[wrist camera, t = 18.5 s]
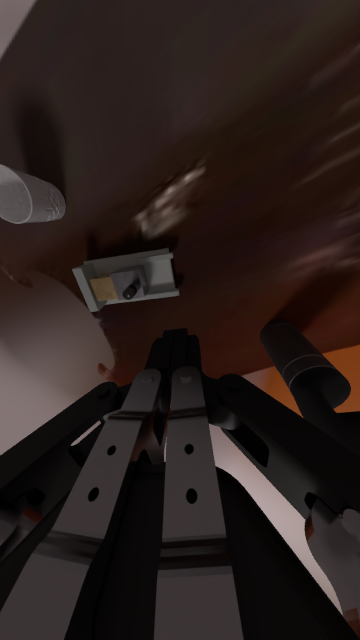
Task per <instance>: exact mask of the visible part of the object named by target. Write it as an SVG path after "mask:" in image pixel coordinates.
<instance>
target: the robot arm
mask: <svg viewBox="0 0 360 640" xmlns="http://www.w3.org/2000/svg"><path fill="white" fill-rule="evenodd" d="M260 339H261V342H262V344H263V345H264V347H265V350H266V351H267V353H268V355H269V357H270V358H271V360H272V362H273V364H274V365H275V367H276V369H277V370H278V372H279V373H280V375H281V376H282V378H283V379H284V381H285V383H286V385H287V387H288V388H289V390H290V392H291V393H292V395H293V397H294V399H295V401H296V403H297V405H298V408H299V410H300V412H301V414H302V416H303V418H302V417H301V416H300V415H298V414H297V413H295V412H294V411H292V410H291V409H289V408H288V407H286V406H284V405H283V404H282V403H280V402H279V401H277V400H276V399H274V398H273V397H271V396H270V395H268V394H267V393H265V392H264V391H262V390H261V389H259V388H258V387H256V386H255V385H254V384H252V383H251V382H249V381H248V380H246V379H244V378H243V377H241V376H239V375H236V374H226V375H223V376H222V377H220V378H219V379H213V378H210V377H208V376H206V375H205V374H204V373H203V372H202V364H201V353H200V345H199V339H198V338H197V336H196V335H188V331H187V328H182V329H176V330H175V329H173V330H164V333H163V337H162V338H157V339H156V340H155V341H154V343H153V344H152V347H151V350H150V354H149V357H148V360H147V363H146V366H145V369H144V370H143V371H141V372H140V373H139V374H138V375H137V376H136V377H135V379H134V381H133V383H130V384H127V385H124V386H121V387H118V386H117V384H116V383H115V382H105V383H102V384H100V385H98V386H97V387H95V388H94V389H92V390H91V391H90V392H88V393H87V394H85V395H84V396H83V397H81V398H80V399H78V400H77V401H76V402H74V403H73V404H72V405H70V406H69V407H67V408H66V409H65V410H63V411H62V412H60V413H59V414H58V415H56V416H55V417H53V418H52V419H51V420H49V421H48V422H46V423H45V424H44V425H42V426H41V427H39V428H38V429H37V430H35V431H34V432H33V433H31V434H30V435H28V436H27V437H26V438H24V439H23V440H21V441H20V442H19V443H17V444H16V445H15V446H13V447H12V448H10V449H9V450H7V451H6V452H5V453H4V454H2V455H0V640H360V411H357V412H345V413H336V412H335V411H334V410H333V409H334V408H336V407H338V406H339V405H341V404H342V403H343V402H344V401H345V400H346V399H347V398H348V397H349V395H350V391H351V386H350V384H349V382H348V380H347V379H346V378H345V377H344V376H343V375H342V374H341V373H340V372H339V371H338V370H337V369H336V368H335V367H334V366H333V365H332V364H331V363H330V362H329V361H328V360H327V359H326V358H325V357H324V356H323V355H322V354H321V353H320V352H319V351H318V350H317V349H316V348H315V347H314V346H313V345H312V344H311V343H310V342H309V341H308V340H307V339H306V338H305V336H304V335H303V334H302V333H301V332H300V331H299V330H298V329H297V328H296V327H295V326H294V325H293V324H292V323H290V322H288V321H284V320H278V321H274V322H271V323H270V324H268V325H267V326H265V327H264V329H263V330H262V332H261V334H260ZM170 404H171V408H170ZM99 420H100V422H101V424H100V425H98V426H97V427H96V428H95V429H94V430H93V431H92V432H90V434H88V435H87V436H86V437H85V438H83V439H82V440H81V441H80V442H79V443H78V444H76V445H74V446H70V445H71V444H72V443H73V442H74V441H75V440H76V439H78V438H79V437H80V436H81V435H82V434H83V433H84V432H86V431H87V430H88V429H89V428H90V427H92V426H93V425H94V424H95V423H96V422H97V421H99ZM208 423H209V424H212V425H215V426H218V427H220V428H221V429H222V431H223V432H224V433H225V434H226V436H227V437H228V438H229V439H230V440H231V441H232V442H233V443H234V444H235V445H236V446H237V447H238V448H239V449H240V450H241V451H242V453H243V454H244V455H245V456H246V457H247V458H248V459H249V460H250V461H251V462H252V463H253V464H254V465H255V466H256V468H257V469H258V470H259V471H260V472H261V473H262V474H263V475H264V476H265V477H266V478H267V479H268V480H269V481H270V482H271V483H272V485H273V486H274V487H275V488H276V489H277V490H278V491H279V492H280V493H281V494H282V495H283V496H284V497H285V498H286V499H287V501H289V503H290V504H291V505H292V506H293V507H294V508H295V509H296V510H297V511H298V512H299V513H300V514H301V515H302V517H303V518H304V519H305V536H306V540H307V544H308V546H309V549H310V551H311V553H312V555H313V557H314V559H315V560H316V562H317V563H318V565H319V566H320V567H321V569H322V570H323V572H324V573H325V574H326V576H327V578H328V579H329V581H330V582H331V584H332V586H333V588H334V590H335V592H336V595H337V597H338V600H339V602H340V606H341V609H342V612H343V616H342V615H341V613H340V612H339V611H338V609H337V608H336V607H335V606H334V604H333V603H332V602H331V600H330V599H329V598H328V597H327V595H326V594H325V592H324V591H323V590H322V588H321V587H320V586H319V584H318V583H317V582H316V581H315V579H314V578H313V577H312V575H311V574H310V573H309V571H308V570H307V569H306V568H305V566H304V565H303V564H302V562H301V561H300V560H299V558H298V557H297V556H296V554H295V553H294V552H293V550H292V549H291V548H290V547H289V545H288V544H287V543H286V541H285V540H284V539H283V537H282V536H281V535H280V534H279V532H278V531H277V530H276V528H275V527H274V526H273V524H272V523H271V522H270V520H269V519H268V518H267V516H266V515H265V514H264V513H263V511H262V510H261V509H260V507H259V506H258V505H257V503H256V502H255V501H254V499H253V498H252V497H251V495H250V494H249V493H248V492H247V491H246V489H245V488H244V487H243V486H242V485H241V484H240V483H239V481H238V480H237V479H235V478H234V477H233V476H232V475H231V474H229V473H228V472H226V471H224V470H223V469H221V468H218V467H216V466H215V461H214V455H213V449H212V443H211V437H210V430H209V424H208ZM166 436H167V446H166V462H164V447H165V441H166Z"/></svg>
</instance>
